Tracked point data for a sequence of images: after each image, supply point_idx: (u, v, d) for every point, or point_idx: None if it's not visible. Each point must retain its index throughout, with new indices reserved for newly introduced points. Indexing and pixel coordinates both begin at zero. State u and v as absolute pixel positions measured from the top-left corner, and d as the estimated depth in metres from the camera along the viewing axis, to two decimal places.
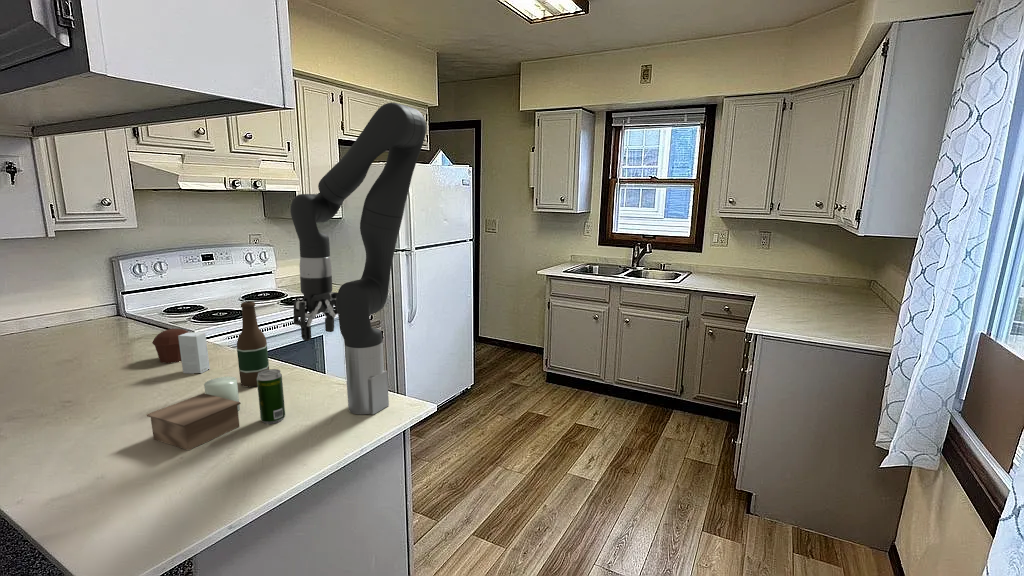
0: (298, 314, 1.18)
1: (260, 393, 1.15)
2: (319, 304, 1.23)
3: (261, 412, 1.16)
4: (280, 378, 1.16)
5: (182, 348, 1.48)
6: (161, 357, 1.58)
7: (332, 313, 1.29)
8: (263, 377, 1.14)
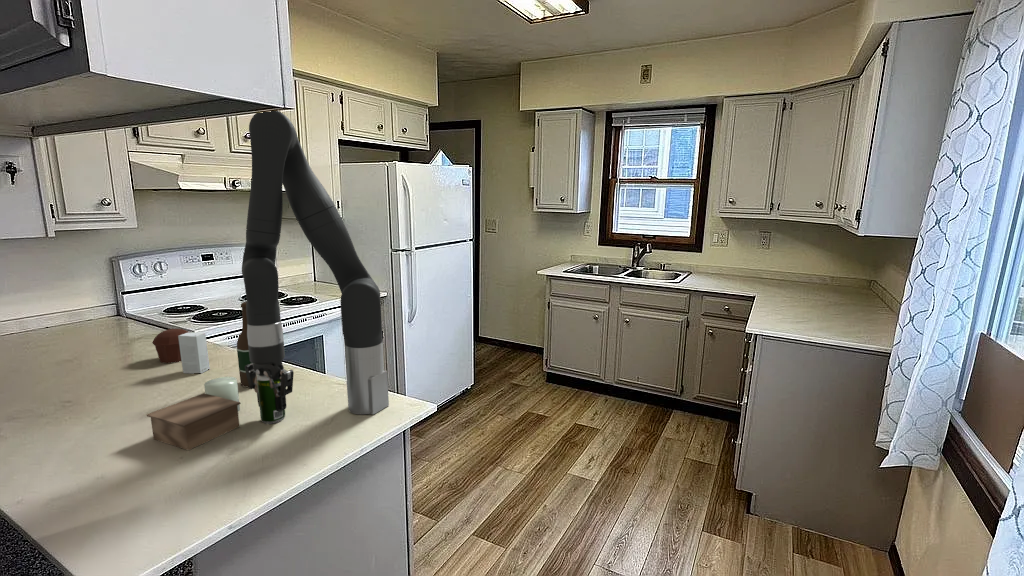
0: (289, 384, 1.14)
1: (260, 393, 1.15)
2: None
3: (261, 412, 1.16)
4: None
5: (182, 348, 1.48)
6: (161, 357, 1.58)
7: None
8: (263, 377, 1.14)
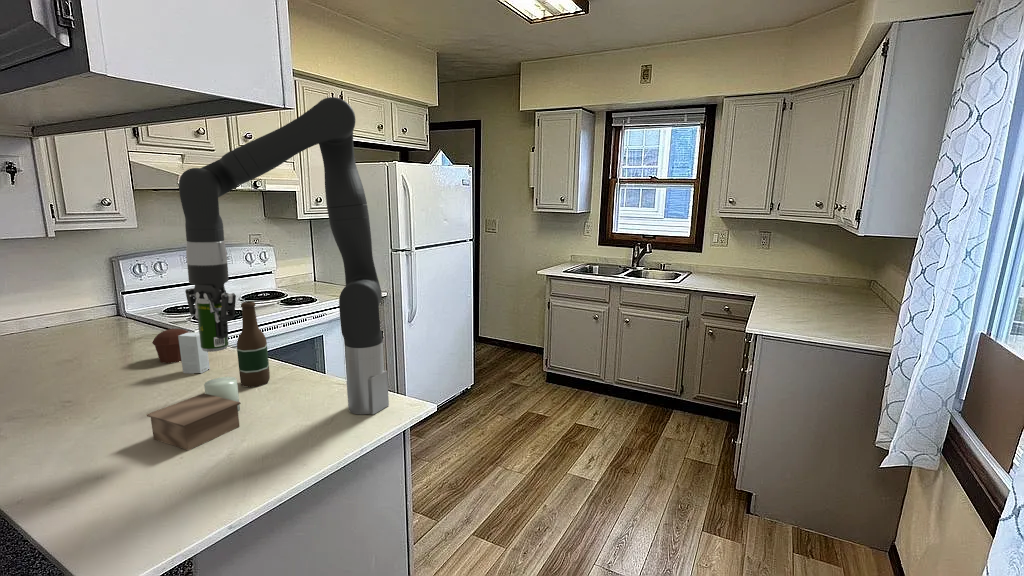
0: (231, 308, 1.06)
1: (200, 317, 1.07)
2: None
3: (201, 338, 1.08)
4: None
5: (182, 348, 1.48)
6: (161, 357, 1.58)
7: None
8: (203, 300, 1.06)
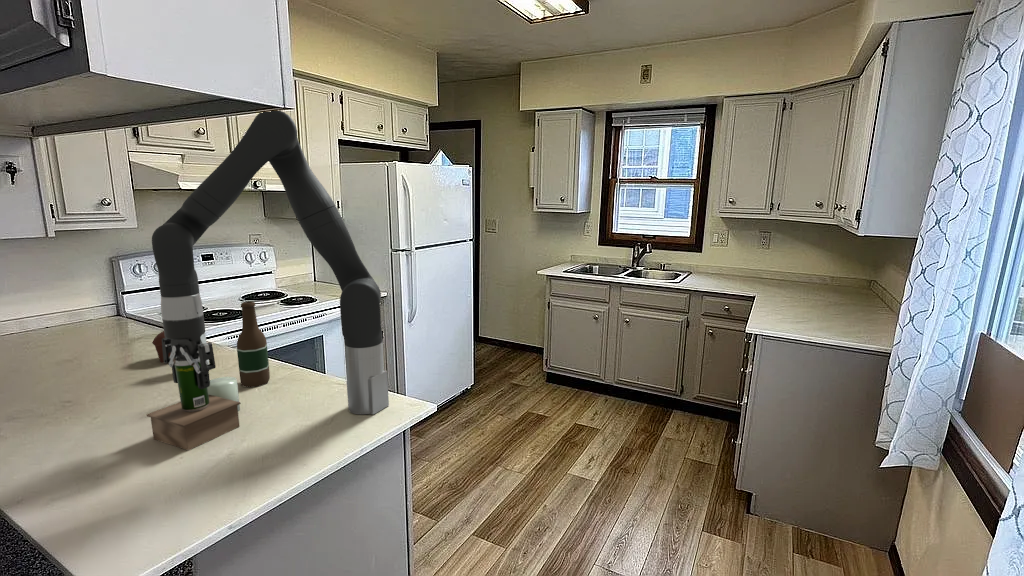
0: (209, 357, 1.06)
1: (178, 379, 1.07)
2: None
3: (181, 400, 1.08)
4: None
5: None
6: (161, 357, 1.58)
7: None
8: (180, 362, 1.06)
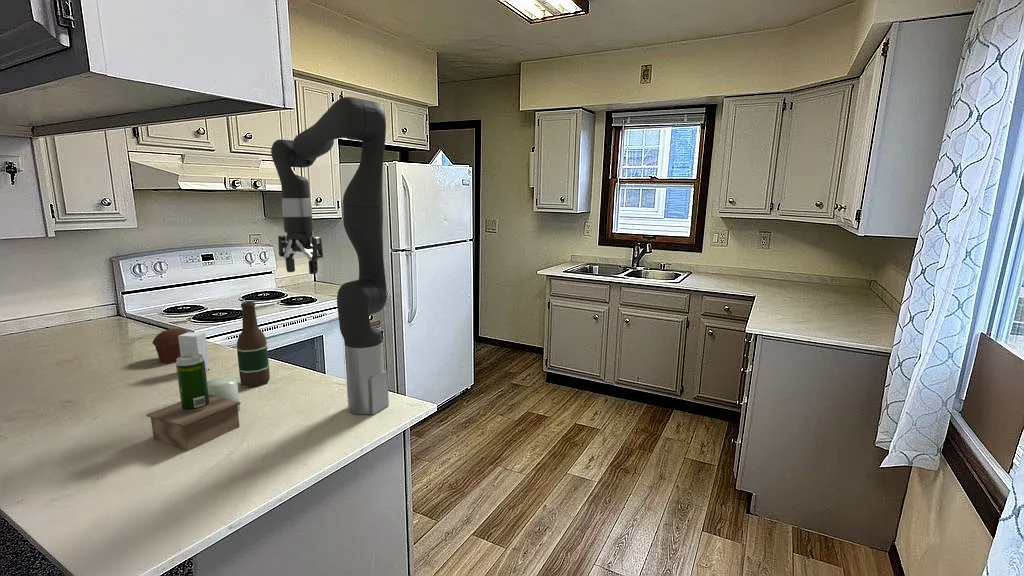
0: (319, 248, 1.34)
1: (179, 379, 1.07)
2: None
3: (181, 399, 1.08)
4: (201, 363, 1.08)
5: (182, 348, 1.48)
6: (161, 357, 1.58)
7: None
8: (181, 362, 1.06)
